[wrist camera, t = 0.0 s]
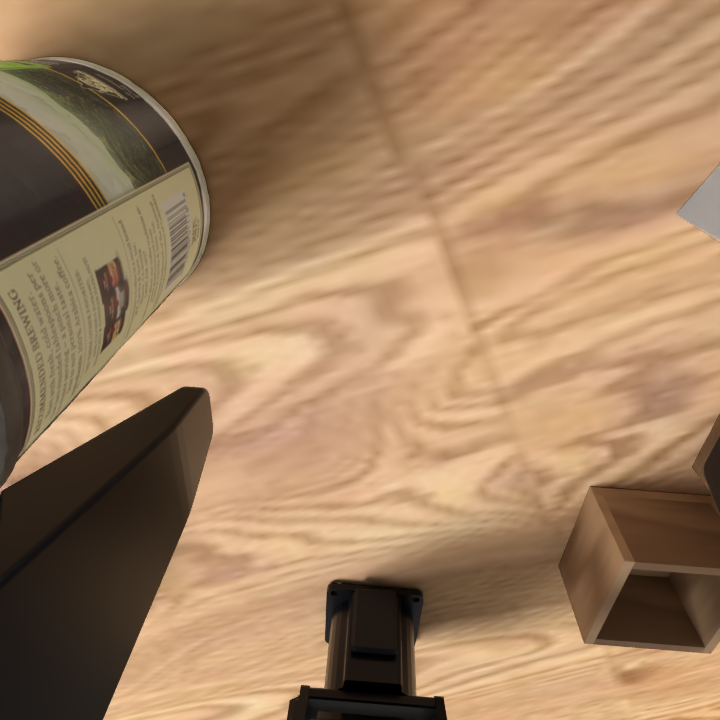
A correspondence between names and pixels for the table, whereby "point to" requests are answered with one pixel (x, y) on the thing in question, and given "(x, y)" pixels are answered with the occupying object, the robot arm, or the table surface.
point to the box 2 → (706, 451)
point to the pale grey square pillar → (705, 206)
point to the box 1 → (645, 570)
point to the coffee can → (83, 231)
